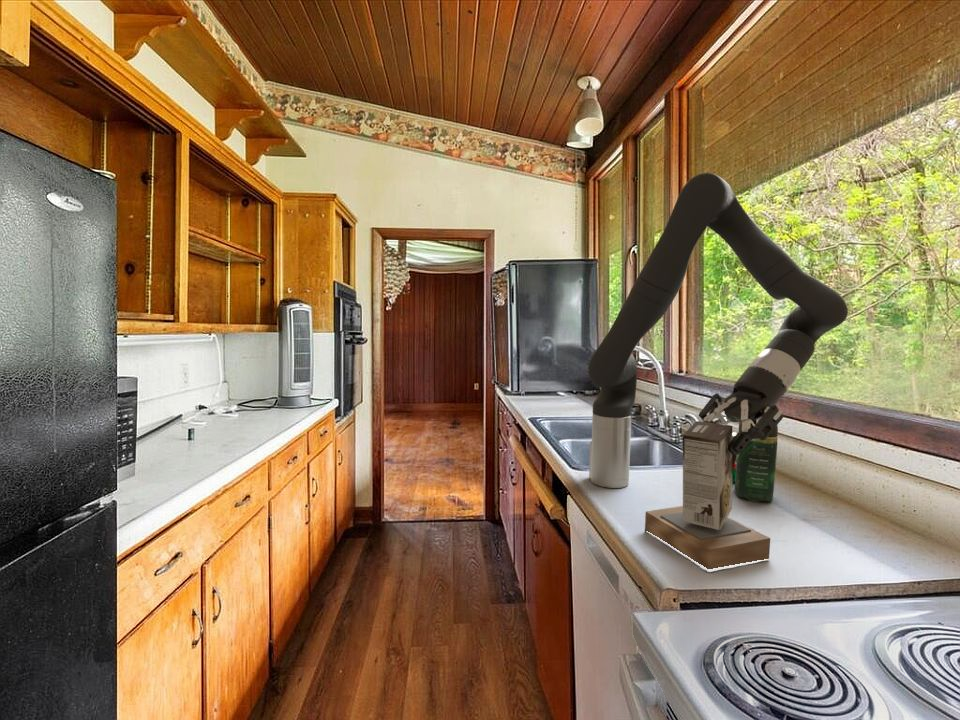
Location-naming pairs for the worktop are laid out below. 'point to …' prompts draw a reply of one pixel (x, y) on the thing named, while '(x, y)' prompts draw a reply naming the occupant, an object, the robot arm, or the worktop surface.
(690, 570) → the worktop surface
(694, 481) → the coffee box
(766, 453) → the coffee jar
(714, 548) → the block
